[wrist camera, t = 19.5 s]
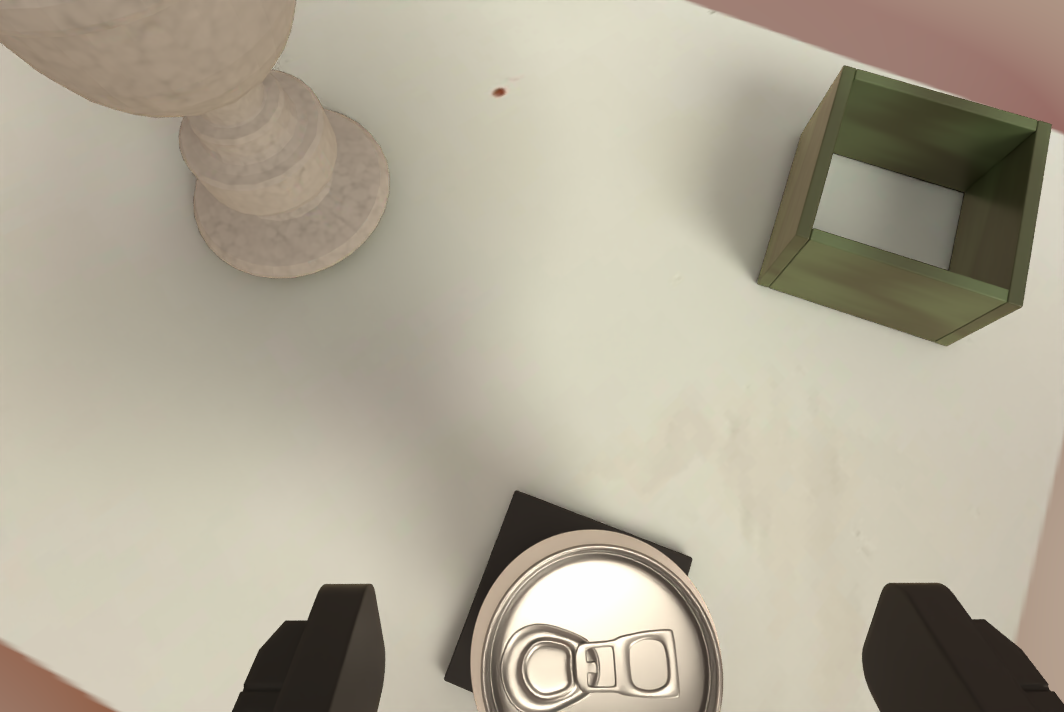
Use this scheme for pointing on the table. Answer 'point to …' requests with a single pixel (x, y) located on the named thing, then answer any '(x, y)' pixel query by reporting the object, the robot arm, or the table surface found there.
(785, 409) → the table surface
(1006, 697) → the robot arm
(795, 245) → the caddy
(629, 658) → the can
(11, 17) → the table lamp
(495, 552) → the mat
